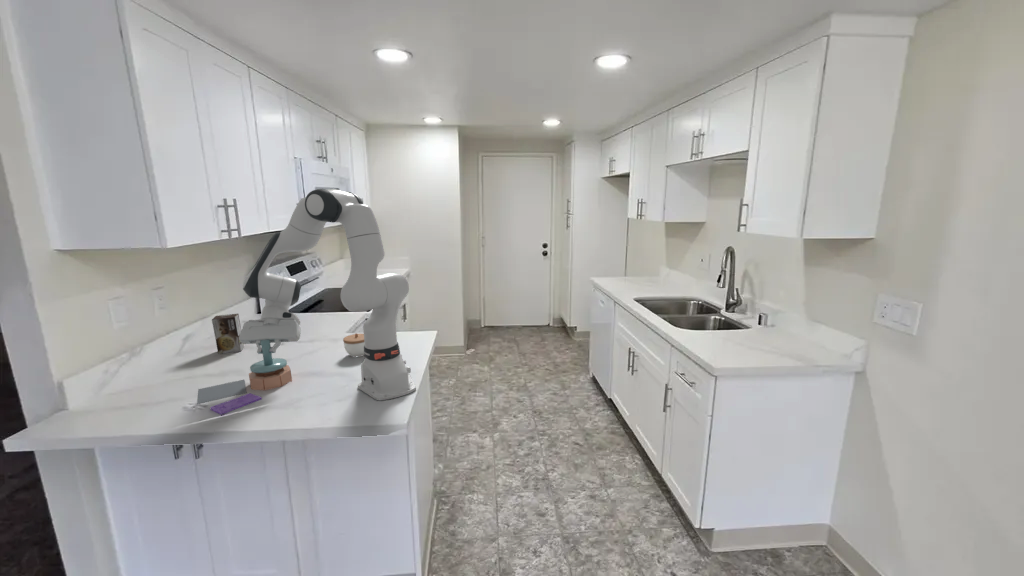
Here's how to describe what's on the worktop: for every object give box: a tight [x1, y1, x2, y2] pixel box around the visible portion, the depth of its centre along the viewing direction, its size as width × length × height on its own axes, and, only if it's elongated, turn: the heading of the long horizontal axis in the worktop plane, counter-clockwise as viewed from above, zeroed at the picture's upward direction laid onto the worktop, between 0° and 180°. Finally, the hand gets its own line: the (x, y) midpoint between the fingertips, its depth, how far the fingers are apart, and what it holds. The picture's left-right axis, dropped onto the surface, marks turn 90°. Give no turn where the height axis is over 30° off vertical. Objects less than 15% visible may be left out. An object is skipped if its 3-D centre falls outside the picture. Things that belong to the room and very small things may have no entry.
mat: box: [196, 379, 248, 405], centre depth 152 cm, size 14×14×1 cm
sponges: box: [209, 392, 262, 417], centre depth 142 cm, size 7×13×2 cm, turn 147°
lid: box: [249, 339, 288, 373], centre depth 156 cm, size 12×12×10 cm
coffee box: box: [211, 313, 245, 355], centre depth 193 cm, size 9×6×16 cm
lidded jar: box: [342, 333, 365, 358], centre depth 185 cm, size 11×11×9 cm
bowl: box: [248, 364, 293, 391], centre depth 158 cm, size 13×13×4 cm
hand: (266, 352), depth 155 cm, fingers closed on lid, 3 cm apart
